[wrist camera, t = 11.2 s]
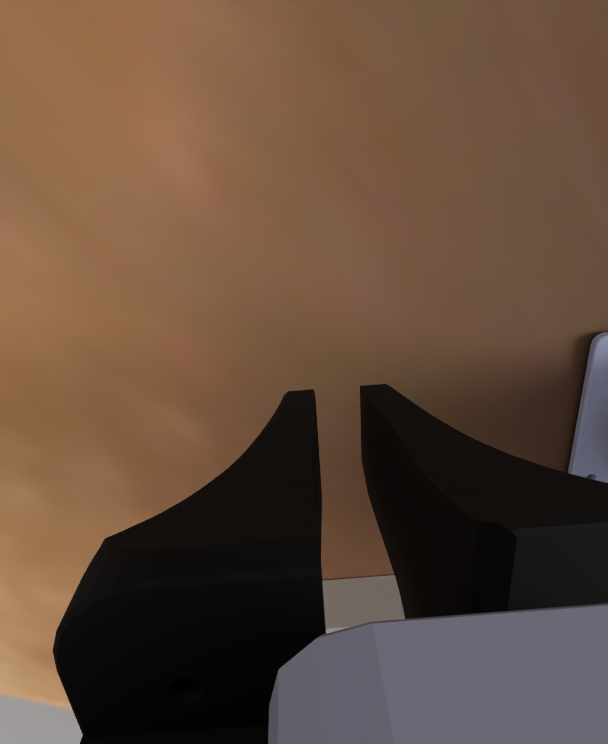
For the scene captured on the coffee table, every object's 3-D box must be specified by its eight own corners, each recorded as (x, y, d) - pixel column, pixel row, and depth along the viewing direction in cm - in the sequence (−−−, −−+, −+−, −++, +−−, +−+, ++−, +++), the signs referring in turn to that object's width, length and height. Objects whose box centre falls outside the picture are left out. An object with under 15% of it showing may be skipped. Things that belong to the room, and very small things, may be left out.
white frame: (512, 565, 27) (538, 612, 24) (493, 704, 32) (512, 756, 29) (295, 582, 27) (296, 630, 24) (309, 719, 32) (311, 772, 29)
